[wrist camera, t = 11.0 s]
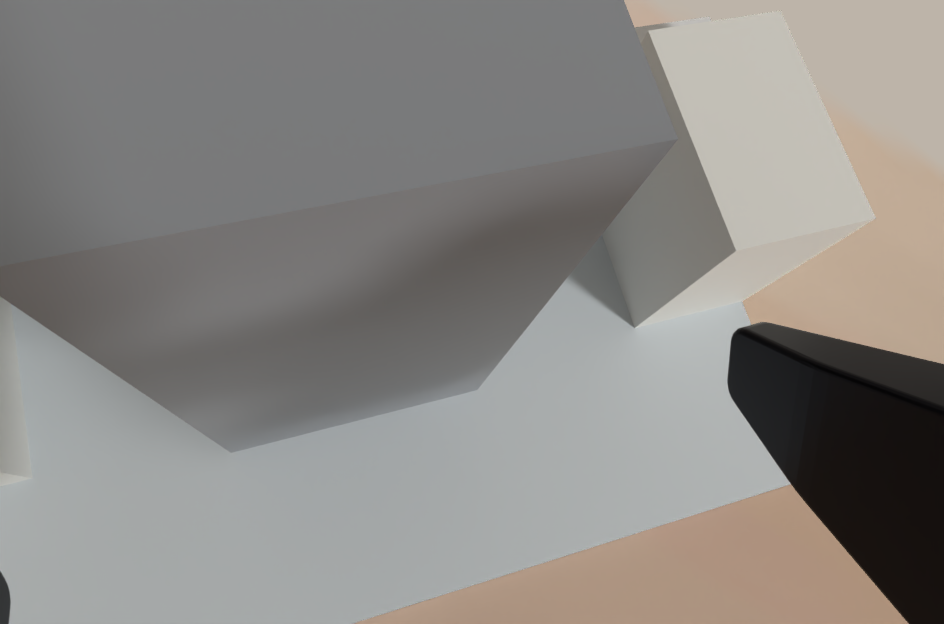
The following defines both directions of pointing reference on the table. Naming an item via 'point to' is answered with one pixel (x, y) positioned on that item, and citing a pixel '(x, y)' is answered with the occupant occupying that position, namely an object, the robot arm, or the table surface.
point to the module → (310, 190)
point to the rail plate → (453, 401)
